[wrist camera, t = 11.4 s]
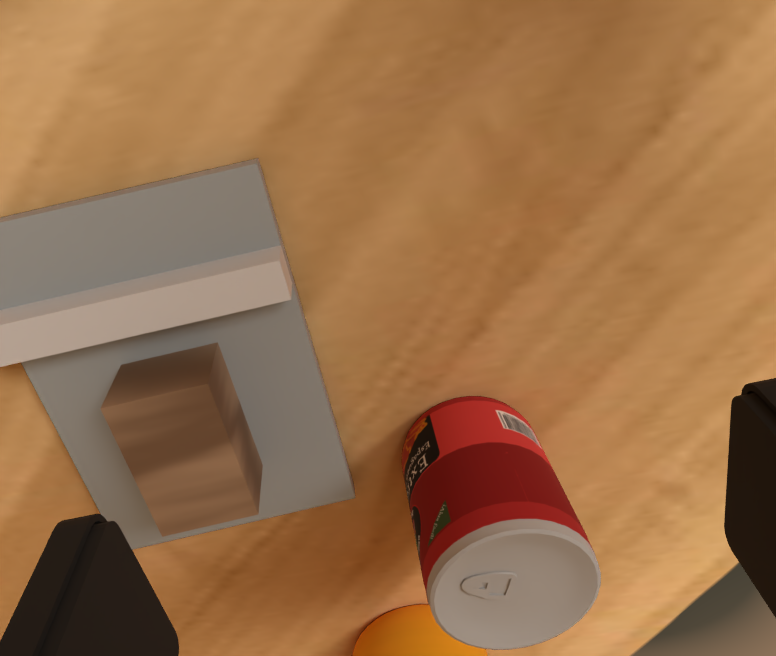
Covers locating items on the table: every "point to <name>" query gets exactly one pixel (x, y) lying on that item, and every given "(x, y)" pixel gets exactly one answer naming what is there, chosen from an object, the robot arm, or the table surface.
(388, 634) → the beer bottle
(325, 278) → the table surface
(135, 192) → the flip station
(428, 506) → the canned food
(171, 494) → the walnut block
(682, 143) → the table surface
